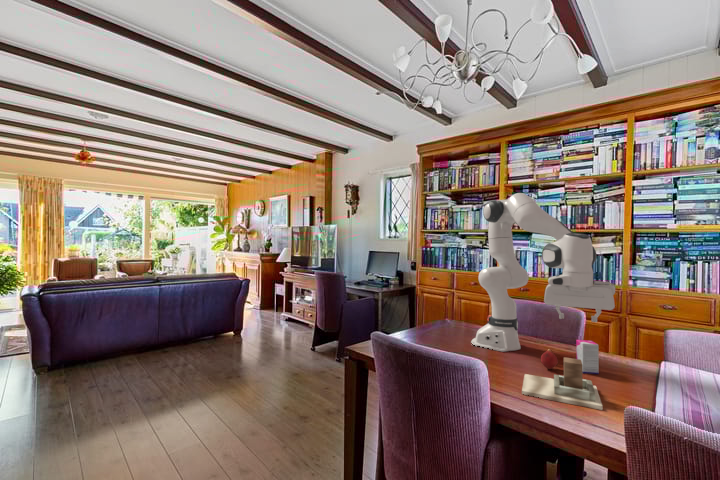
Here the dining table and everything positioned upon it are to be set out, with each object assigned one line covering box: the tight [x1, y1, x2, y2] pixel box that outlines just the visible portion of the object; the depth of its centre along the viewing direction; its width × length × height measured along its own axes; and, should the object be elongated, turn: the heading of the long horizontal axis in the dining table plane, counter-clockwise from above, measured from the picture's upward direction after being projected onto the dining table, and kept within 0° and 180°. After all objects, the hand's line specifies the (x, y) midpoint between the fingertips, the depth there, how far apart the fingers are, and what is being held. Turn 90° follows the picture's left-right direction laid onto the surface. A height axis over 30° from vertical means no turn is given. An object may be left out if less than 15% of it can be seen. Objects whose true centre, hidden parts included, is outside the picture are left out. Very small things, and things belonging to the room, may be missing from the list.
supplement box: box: [575, 339, 600, 375], centre depth 130 cm, size 6×6×12 cm
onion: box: [540, 348, 559, 370], centre depth 132 cm, size 6×6×8 cm
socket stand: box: [521, 373, 604, 411], centre depth 112 cm, size 22×16×4 cm
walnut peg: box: [563, 356, 584, 389], centre depth 110 cm, size 5×5×10 cm
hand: (577, 320), depth 114 cm, fingers open, 8 cm apart
